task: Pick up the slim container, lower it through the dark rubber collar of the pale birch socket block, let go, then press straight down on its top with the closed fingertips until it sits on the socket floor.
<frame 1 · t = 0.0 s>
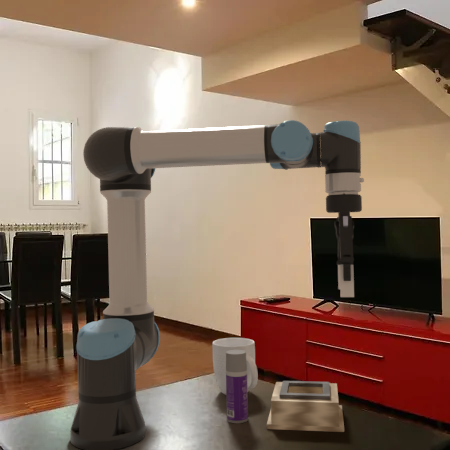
hand: (345, 293, 120), 28 cm above the table, fingers open, 13 cm apart
mug: (237, 394, 143), on the table
socket: (306, 418, 123), on the table
container: (237, 420, 123), on the table
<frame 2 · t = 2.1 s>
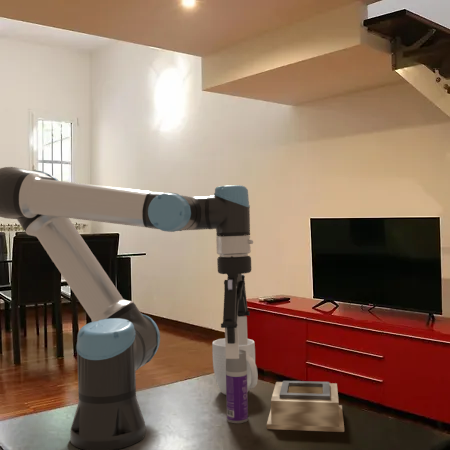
hand: (237, 351, 123), 15 cm above the table, fingers open, 13 cm apart
nothing on the table moved.
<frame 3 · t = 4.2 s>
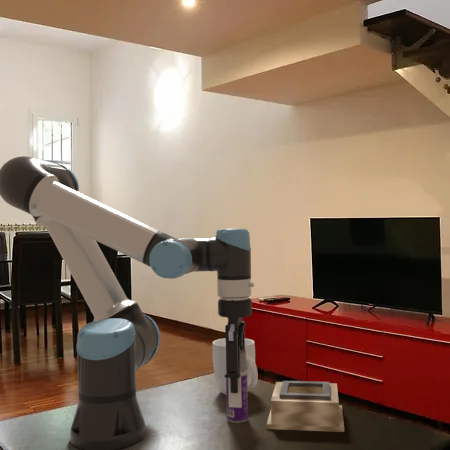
hand: (237, 402, 123), 4 cm above the table, fingers closed on container, 5 cm apart
container: (237, 420, 123), on the table, touching gripper
everything else where it was.
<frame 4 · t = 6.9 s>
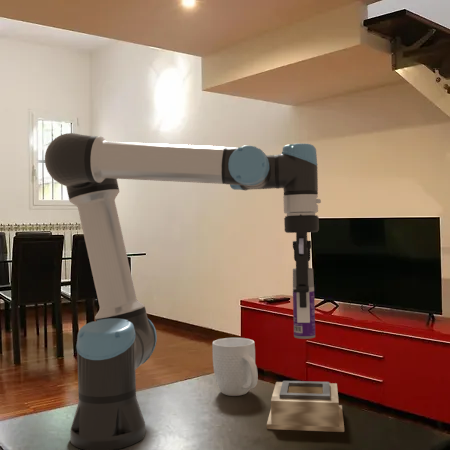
hand: (304, 319, 123), 22 cm above the table, fingers closed on container, 5 cm apart
container: (304, 337, 123), point 18 cm above the table, touching gripper
everything else where it was.
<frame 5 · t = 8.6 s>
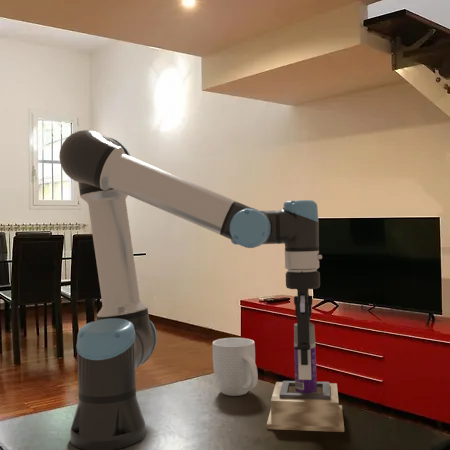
hand: (305, 375, 123), 10 cm above the table, fingers closed on container, 5 cm apart
container: (306, 393, 123), point 6 cm above the table, touching gripper
everything else where it was.
when the fingers open (7 cm above the table, at t = 9.7 s): container drops 2 cm, resting on socket.
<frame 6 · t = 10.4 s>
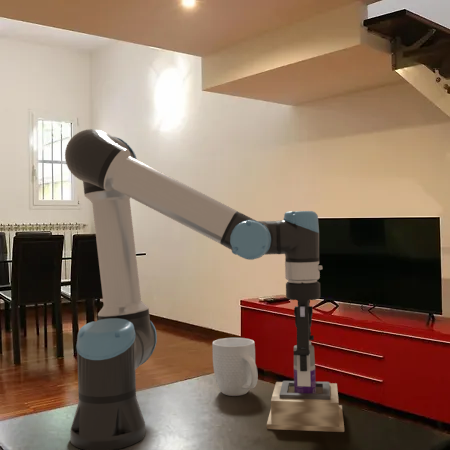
hand: (305, 377, 123), 9 cm above the table, fingers open, 13 cm apart
container: (305, 415, 123), point 1 cm above the table, touching socket
everything else where it was.
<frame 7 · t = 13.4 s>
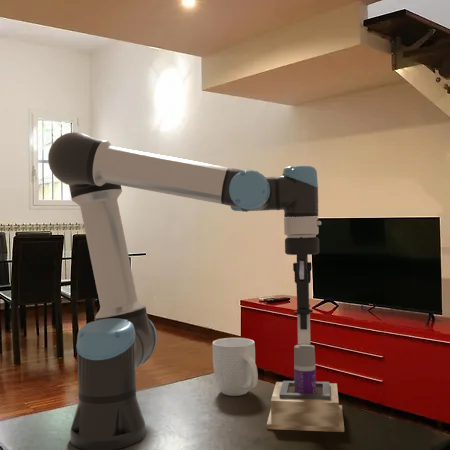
hand: (304, 343, 123), 17 cm above the table, fingers closed
nothing on the table moved.
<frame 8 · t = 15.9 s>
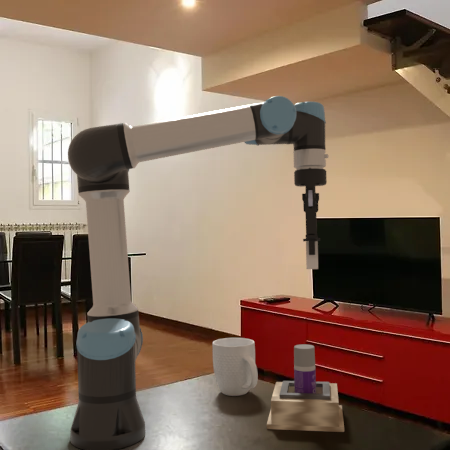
hand: (312, 268, 131), 32 cm above the table, fingers closed
nothing on the table moved.
at the end: container 0.1 cm off-centre on the socket, point 0.8 cm above the socket's base; container tilted 0°; the gripper is holding nothing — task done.
